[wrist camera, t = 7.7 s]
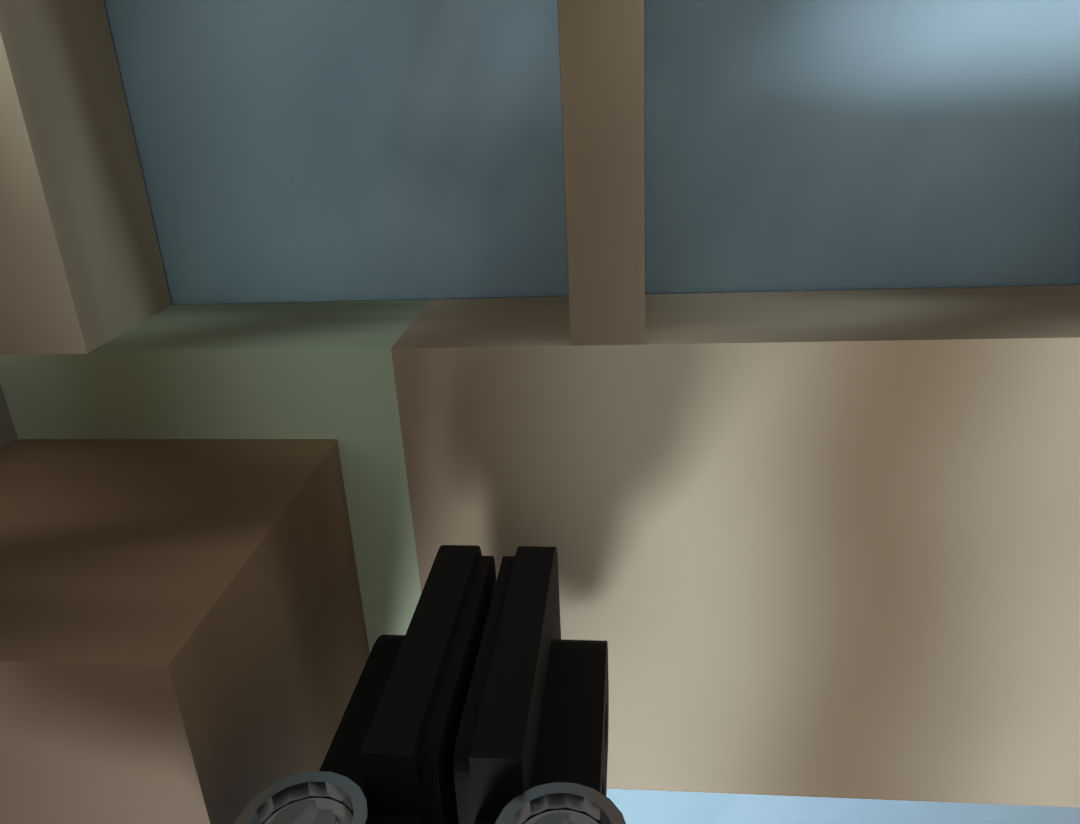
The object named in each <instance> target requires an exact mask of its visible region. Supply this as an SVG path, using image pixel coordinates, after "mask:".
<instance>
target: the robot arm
mask: <svg viewBox="0 0 1080 824" xmlns="http://www.w3.org/2000/svg"><path fill="white" fill-rule="evenodd" d="M608 725H609V681H608V642H607V641H599V640H563V639H561V624H560V601H559V577H558V556H557V548H556V547H544V546H518V548H517V551H516V555H515V556H503V558H502V561H501V565H500V569H499V573H498V577H497V581H496V568H495V560H494V557H493V556H482V552H481V549H480V547H479V546H478V545H441V546H440V548H439V549H438V552H437V555H436V557H435V560H434V562H433V565H432V567H431V570H430V573H429V575H428V578H427V580H426V583H425V586H424V588H423V591H422V593H421V596H420V598H419V601H418V604H417V606H416V609H415V611H414V614H413V617H412V619H411V622H410V624H409V627H408V629H407V632H406V635H381V636H379V637H378V638H377V640H376V642H375V644H374V646H373V648H372V650H371V653H370V655H369V657H368V659H367V662H366V664H365V666H364V669H363V671H362V673H361V676H360V678H359V680H358V683H357V685H356V687H355V689H354V692H353V694H352V696H351V699H350V701H349V703H348V706H347V708H346V710H345V713H344V715H343V717H342V719H341V722H340V724H339V726H338V729H337V731H336V733H335V736H334V738H333V740H332V743H331V745H330V747H329V749H328V752H327V754H326V756H325V759H324V761H323V763H322V766H321V768H320V770H319V771H310V772H305V773H300V774H295V775H292V776H289V777H287V778H285V779H282V780H280V781H278V782H275V783H273V784H272V785H270V786H269V787H267V788H266V789H265V790H263V791H262V792H260V793H259V794H258V795H256V796H255V797H254V798H253V799H252V801H251V802H250V803H249V804H248V805H247V806H246V807H245V808H244V809H243V811H242V812H241V813H240V815H239V816H238V818H237V819H236V821H235V822H234V823H233V824H626V823H625V820H624V818H623V815H622V813H621V812H620V811H619V809H618V808H617V807H616V806H615V805H614V803H613V802H612V801H611V800H610V799H609V798H607V797H606V788H607V761H608Z"/></svg>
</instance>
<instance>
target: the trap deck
mask: <svg viewBox="0 0 1080 824" xmlns="http://www.w3.org/2000/svg"><path fill="white" fill-rule="evenodd" d="M558 23H559V49H560V75H561V102H562V128H563V154H564V180H565V207H566V233H567V259H568V285H569V296H556V297H511V298H467V299H422V300H378V301H333V302H289V303H245V304H200V305H172V303H171V298H170V294H169V290H168V285H167V281H166V276H165V272H164V267H163V263H162V258H161V254H160V249H159V245H158V241H157V236H156V232H155V227H154V223H153V218H152V214H151V209H150V205H149V200H148V196H147V192H146V187H145V183H144V178H143V174H142V169H141V165H140V160H139V156H138V152H137V147H136V143H135V138H134V134H133V129H132V125H131V120H130V116H129V111H128V107H127V103H126V98H125V94H124V89H123V85H122V80H121V76H120V71H119V67H118V62H117V58H116V54H115V49H114V45H113V40H112V36H111V31H110V27H109V22H108V18H107V13H106V9H105V5H104V0H0V451H2V450H4V449H5V448H7V447H8V446H10V445H11V444H13V443H14V442H16V441H17V440H19V439H337V441H338V448H339V454H340V461H341V468H342V474H343V481H344V487H345V494H346V501H347V507H348V514H349V520H350V527H351V533H352V540H353V547H354V553H355V560H356V566H357V573H358V580H359V586H360V593H361V599H362V606H363V613H364V619H365V626H366V632H367V639H368V646H369V652H370V653H371V650H372V648H373V646H374V644H375V642H376V640H377V638H378V637H379V636H381V635H406V632H407V629H408V627H409V624H410V622H411V619H412V617H413V614H414V611H415V609H416V606H417V604H418V601H419V598H420V596H421V593H422V591H423V588H424V586H425V583H426V580H427V578H428V575H429V573H430V570H431V567H432V565H433V562H434V560H435V557H436V555H437V552H438V549H439V548H440V546H441V545H478V546H479V547H480V549H481V552H482V556H493V557H494V560H495V568H496V581H497V577H498V573H499V569H500V565H501V561H502V558H503V556H515V555H516V551H517V548H518V546H544V547H556V548H557V556H558V577H559V601H560V624H561V639H563V640H599V641H607V642H608V681H609V725H608V761H607V788H610V789H635V790H660V791H685V792H710V793H734V794H759V795H784V796H809V797H834V798H859V799H884V800H908V801H933V802H958V803H983V804H1008V805H1033V806H1058V807H1080V285H1044V286H1000V287H955V288H911V289H866V290H822V291H778V292H733V293H689V294H645V99H644V0H558Z"/></svg>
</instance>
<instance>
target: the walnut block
mask: <svg viewBox="0 0 1080 824" xmlns="http://www.w3.org/2000/svg"><path fill="white" fill-rule="evenodd" d="M369 655H370V652H369V646H368V639H367V632H366V626H365V619H364V613H363V606H362V599H361V593H360V586H359V580H358V573H357V566H356V560H355V553H354V547H353V540H352V533H351V527H350V520H349V514H348V507H347V501H346V494H345V487H344V481H343V474H342V468H341V461H340V454H339V448H338V441H337V439H19V440H17V441H16V442H14V443H13V444H11V445H10V446H8V447H7V448H5V449H4V450H2V451H0V824H233V823H234V822H235V821H236V819H237V818H238V816H239V815H240V813H241V812H242V811H243V809H244V808H245V807H246V806H247V805H248V804H249V803H250V802H251V801H252V799H253V798H254V797H255V796H256V795H258V794H259V793H260V792H262V791H263V790H265V789H266V788H267V787H269V786H270V785H272V784H273V783H275V782H278V781H280V780H282V779H285V778H287V777H289V776H292V775H295V774H300V773H305V772H310V771H319V770H320V768H321V766H322V763H323V761H324V759H325V756H326V754H327V752H328V749H329V747H330V745H331V743H332V740H333V738H334V736H335V733H336V731H337V729H338V726H339V724H340V722H341V719H342V717H343V715H344V713H345V710H346V708H347V706H348V703H349V701H350V699H351V696H352V694H353V692H354V689H355V687H356V685H357V683H358V680H359V678H360V676H361V673H362V671H363V669H364V666H365V664H366V662H367V659H368V657H369Z"/></svg>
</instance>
